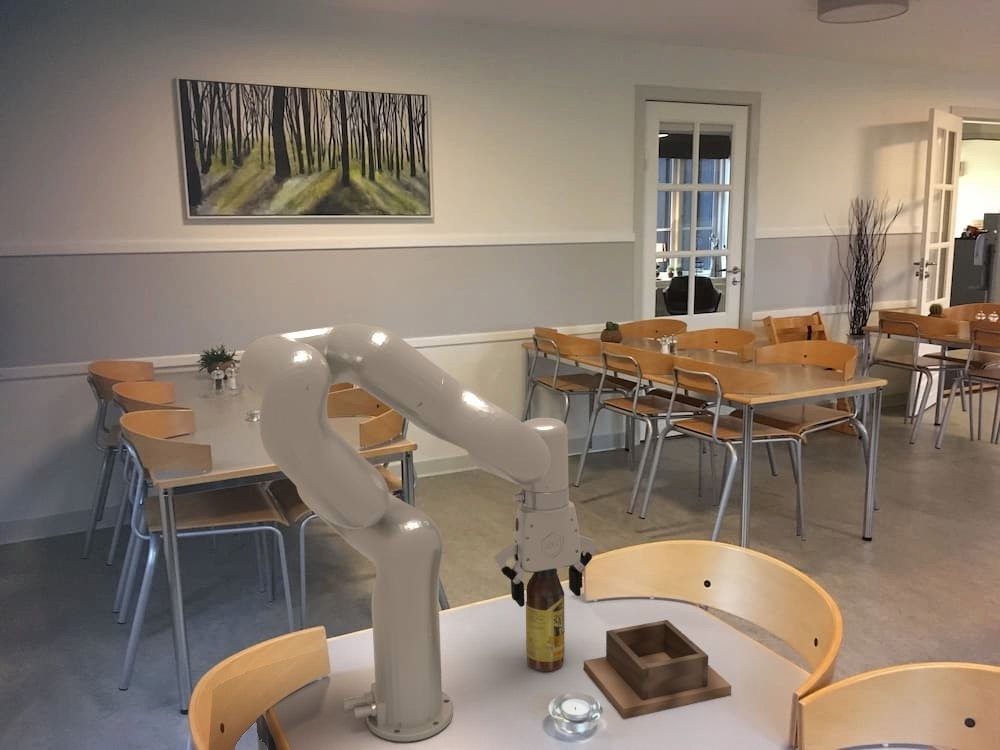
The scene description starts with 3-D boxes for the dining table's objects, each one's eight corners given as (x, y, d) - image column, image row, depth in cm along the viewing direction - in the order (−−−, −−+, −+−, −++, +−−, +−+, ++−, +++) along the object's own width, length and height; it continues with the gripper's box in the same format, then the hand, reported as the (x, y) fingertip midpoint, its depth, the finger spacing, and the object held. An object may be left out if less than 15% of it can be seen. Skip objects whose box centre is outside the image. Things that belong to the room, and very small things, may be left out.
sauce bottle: (562, 675, 123) (561, 556, 120) (523, 671, 125) (521, 554, 121) (566, 654, 130) (566, 541, 127) (529, 650, 131) (528, 538, 128)
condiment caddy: (623, 718, 112) (624, 677, 111) (583, 669, 125) (583, 631, 124) (730, 694, 117) (732, 654, 116) (681, 649, 131) (682, 613, 129)
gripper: (500, 512, 117) (504, 617, 120) (605, 496, 122) (606, 598, 125) (485, 496, 124) (489, 597, 127) (585, 482, 129) (586, 579, 132)
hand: (547, 597), depth 126 cm, fingers open, 9 cm apart
